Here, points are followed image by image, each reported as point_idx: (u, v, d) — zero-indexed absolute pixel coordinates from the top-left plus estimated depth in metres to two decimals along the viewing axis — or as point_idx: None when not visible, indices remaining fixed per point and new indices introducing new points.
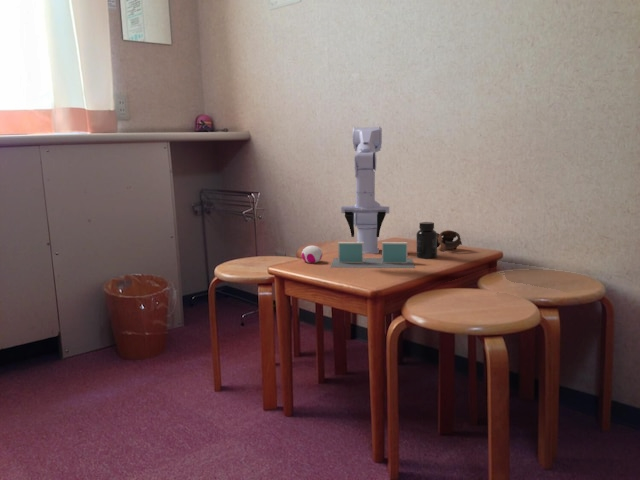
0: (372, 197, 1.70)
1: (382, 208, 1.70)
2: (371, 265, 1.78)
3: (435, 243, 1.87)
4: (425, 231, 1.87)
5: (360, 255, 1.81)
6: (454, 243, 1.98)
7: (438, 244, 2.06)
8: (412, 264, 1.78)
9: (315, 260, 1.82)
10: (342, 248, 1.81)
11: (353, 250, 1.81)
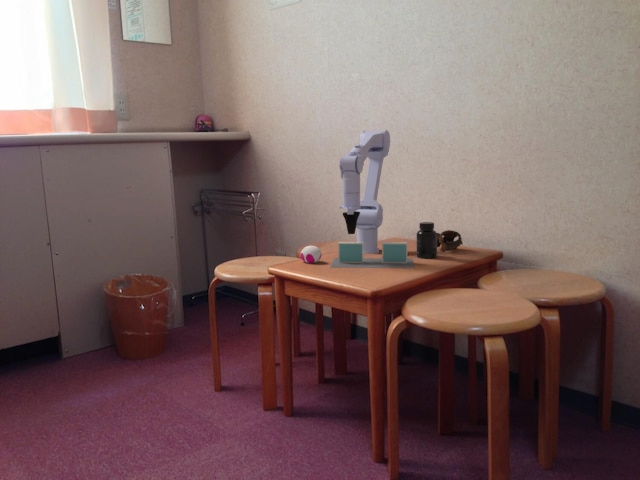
0: (345, 197, 1.82)
1: (346, 208, 1.80)
2: (371, 265, 1.78)
3: (435, 243, 1.87)
4: (425, 231, 1.87)
5: (360, 255, 1.81)
6: (455, 243, 1.98)
7: (439, 244, 2.06)
8: (412, 264, 1.78)
9: (314, 260, 1.81)
10: (342, 248, 1.81)
11: (353, 250, 1.81)
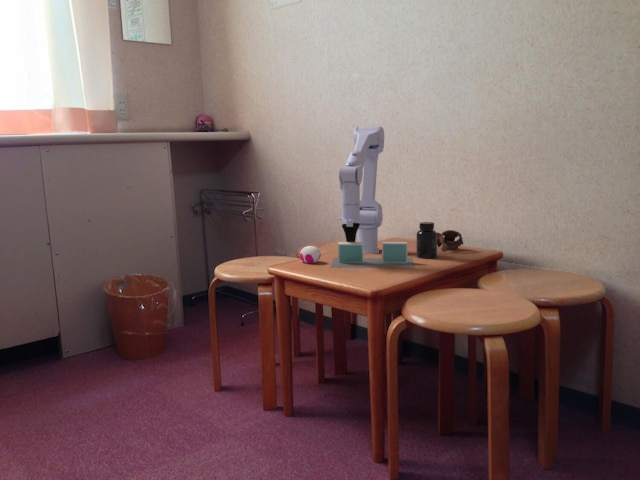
0: (345, 209, 1.79)
1: (345, 220, 1.76)
2: (371, 265, 1.78)
3: (435, 243, 1.87)
4: (425, 231, 1.87)
5: (360, 256, 1.81)
6: (456, 243, 1.99)
7: (440, 244, 2.06)
8: (412, 264, 1.78)
9: (313, 260, 1.81)
10: (342, 249, 1.81)
11: (353, 251, 1.80)
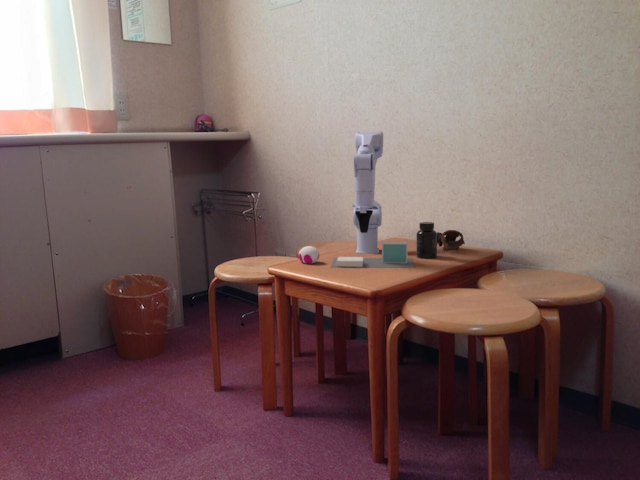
0: (358, 196, 1.82)
1: (359, 207, 1.80)
2: (371, 265, 1.78)
3: (435, 243, 1.87)
4: (425, 231, 1.87)
5: None
6: (457, 243, 1.99)
7: (441, 244, 2.07)
8: (412, 264, 1.78)
9: (312, 261, 1.81)
10: None
11: None
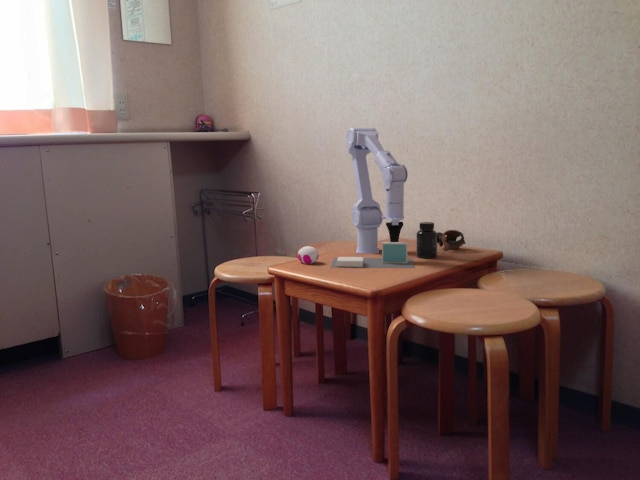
0: (389, 207, 1.81)
1: (390, 219, 1.79)
2: (371, 265, 1.78)
3: (435, 243, 1.87)
4: (425, 231, 1.87)
5: None
6: (458, 242, 1.99)
7: (441, 243, 2.07)
8: (412, 264, 1.78)
9: (311, 261, 1.80)
10: None
11: None
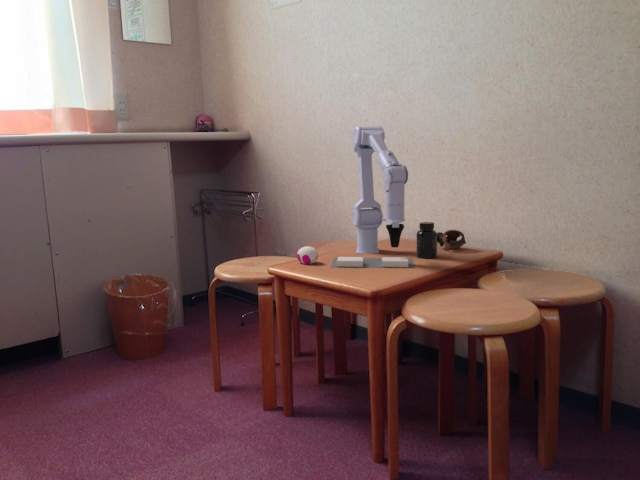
0: (389, 209, 1.76)
1: (391, 221, 1.73)
2: (371, 265, 1.78)
3: (435, 243, 1.87)
4: (425, 231, 1.87)
5: None
6: (458, 242, 1.99)
7: (442, 243, 2.07)
8: (412, 264, 1.78)
9: (311, 261, 1.80)
10: None
11: None
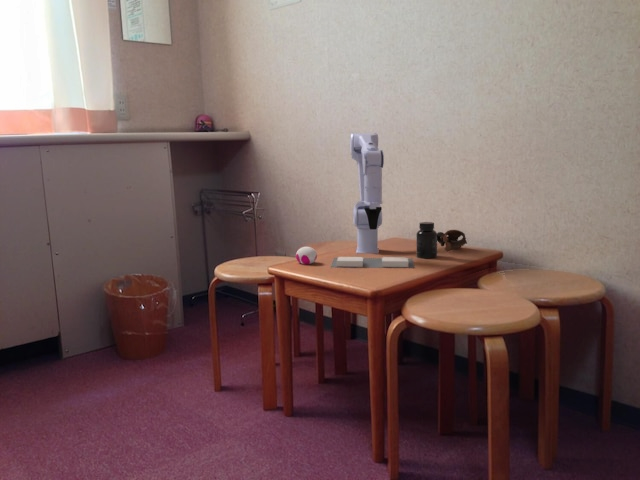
0: (367, 192, 1.82)
1: (368, 203, 1.80)
2: (371, 265, 1.78)
3: (435, 243, 1.87)
4: (425, 231, 1.87)
5: None
6: (459, 242, 2.00)
7: (443, 243, 2.07)
8: (412, 264, 1.78)
9: (309, 261, 1.80)
10: None
11: None
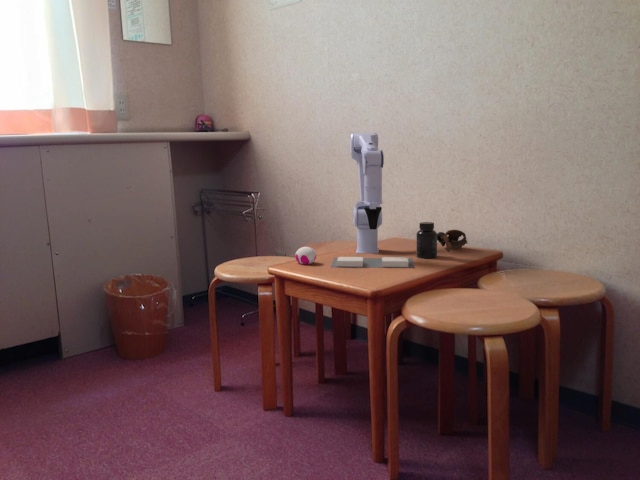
0: (367, 192, 1.82)
1: (368, 203, 1.80)
2: (371, 265, 1.78)
3: (435, 243, 1.87)
4: (425, 231, 1.87)
5: None
6: (460, 242, 2.00)
7: (443, 243, 2.08)
8: (412, 264, 1.78)
9: (309, 261, 1.79)
10: None
11: None
